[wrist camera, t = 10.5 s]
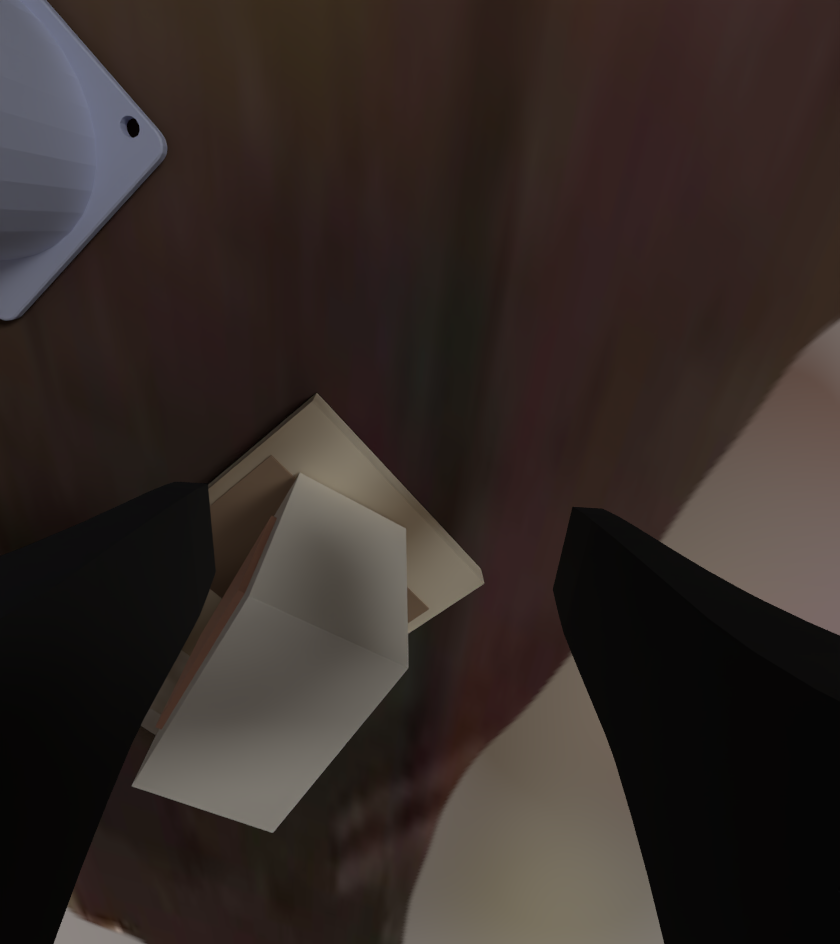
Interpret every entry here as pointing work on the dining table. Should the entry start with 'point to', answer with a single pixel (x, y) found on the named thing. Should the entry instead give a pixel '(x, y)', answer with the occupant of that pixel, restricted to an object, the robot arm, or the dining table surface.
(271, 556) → the carton
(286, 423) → the cream tray
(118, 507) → the robot arm
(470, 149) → the dining table surface
